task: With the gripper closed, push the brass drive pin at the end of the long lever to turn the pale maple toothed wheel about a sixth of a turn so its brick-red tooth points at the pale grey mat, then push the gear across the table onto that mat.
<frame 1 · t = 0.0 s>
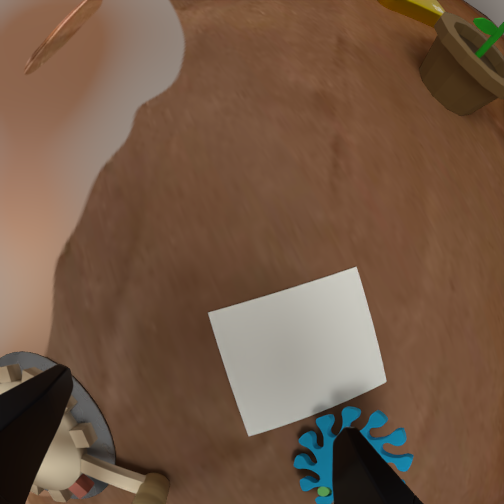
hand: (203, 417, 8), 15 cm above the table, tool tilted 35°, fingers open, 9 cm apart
flowerpot: (445, 88, 32), on the table
wheel base: (41, 431, 19), on the table
gear: (332, 449, 22), on the table, touching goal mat
element tile: (401, 2, 38), on the table
index wheel: (37, 447, 15), point 4 cm above the table, hinge at 0.0°
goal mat: (305, 353, 23), on the table
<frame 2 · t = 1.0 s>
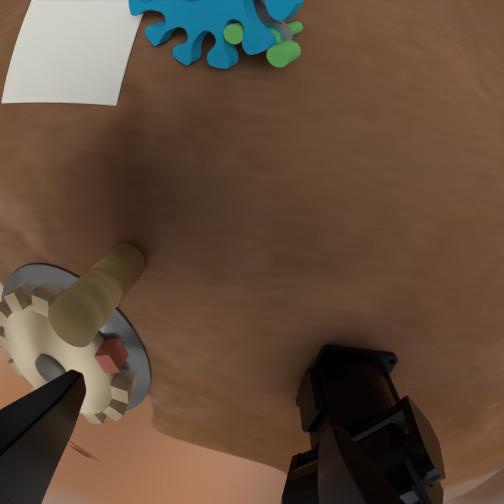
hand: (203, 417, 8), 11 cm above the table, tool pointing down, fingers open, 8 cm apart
wheel base: (67, 348, 21), on the table
gear: (217, 14, 13), on the table, touching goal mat
index wheel: (39, 359, 17), point 4 cm above the table, hinge at 0.0°
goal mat: (74, 14, 12), on the table
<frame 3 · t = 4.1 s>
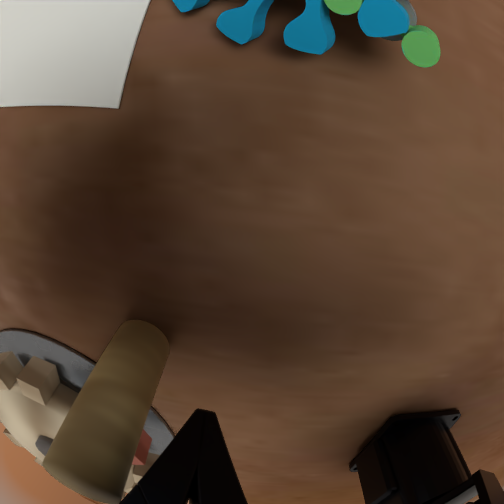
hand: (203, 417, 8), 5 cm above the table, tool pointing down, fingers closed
wheel base: (71, 421, 16), on the table
index wheel: (40, 449, 11), point 4 cm above the table, hinge at 1.1°, touching gripper
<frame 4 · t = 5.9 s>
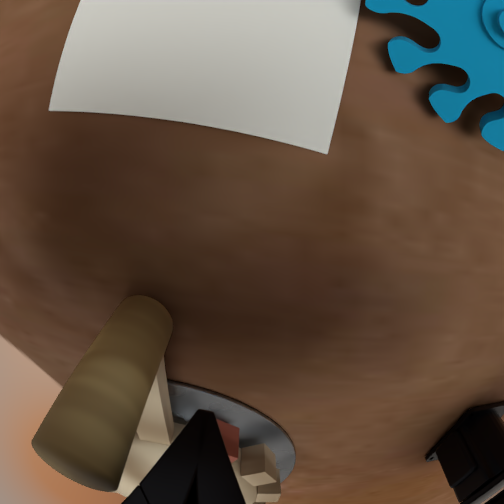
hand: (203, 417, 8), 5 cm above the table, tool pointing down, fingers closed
wheel base: (174, 456, 16), on the table
gear: (453, 51, 8), on the table, touching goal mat
index wheel: (140, 492, 11), point 4 cm above the table, hinge at 38.6°, touching gripper
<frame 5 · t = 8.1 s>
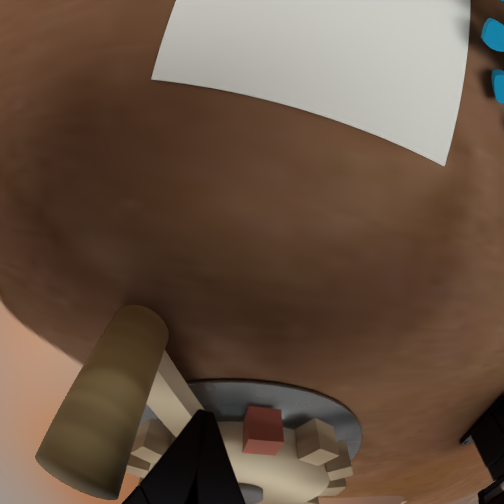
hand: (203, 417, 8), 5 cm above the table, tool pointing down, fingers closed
wheel base: (239, 455, 16), on the table
index wheel: (206, 501, 12), point 4 cm above the table, hinge at 61.9°, touching gripper
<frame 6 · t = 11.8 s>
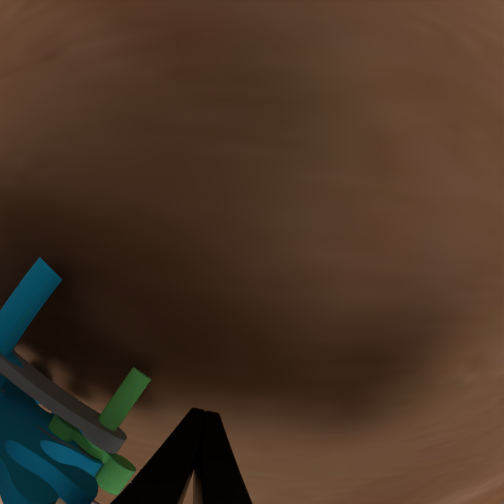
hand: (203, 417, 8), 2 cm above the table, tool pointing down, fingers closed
gear: (41, 327, 9), on the table, touching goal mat, gripper
index wheel: (14, 501, 13), point 4 cm above the table, hinge at 63.0°
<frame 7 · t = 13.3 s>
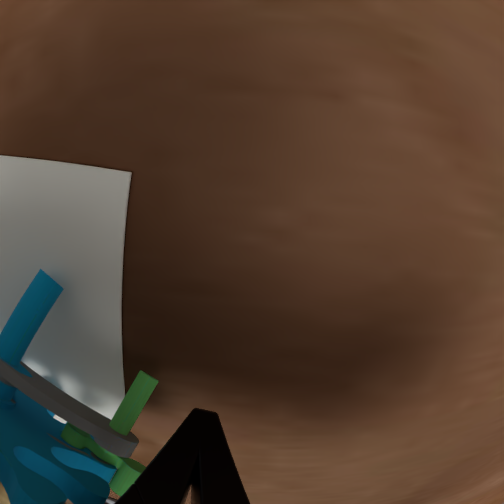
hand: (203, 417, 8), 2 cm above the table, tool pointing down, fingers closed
gear: (50, 340, 9), resting on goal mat, touching gripper
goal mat: (10, 317, 9), on the table
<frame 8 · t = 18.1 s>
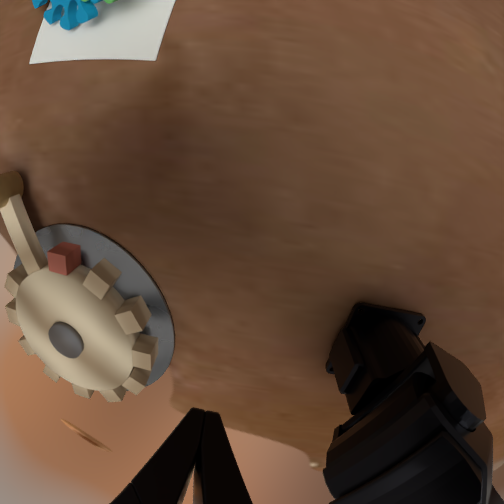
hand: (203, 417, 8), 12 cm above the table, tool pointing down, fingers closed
wheel base: (83, 318, 21), on the table
index wheel: (35, 328, 17), point 4 cm above the table, hinge at 63.0°
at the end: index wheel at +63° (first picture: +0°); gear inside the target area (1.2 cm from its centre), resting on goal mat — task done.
